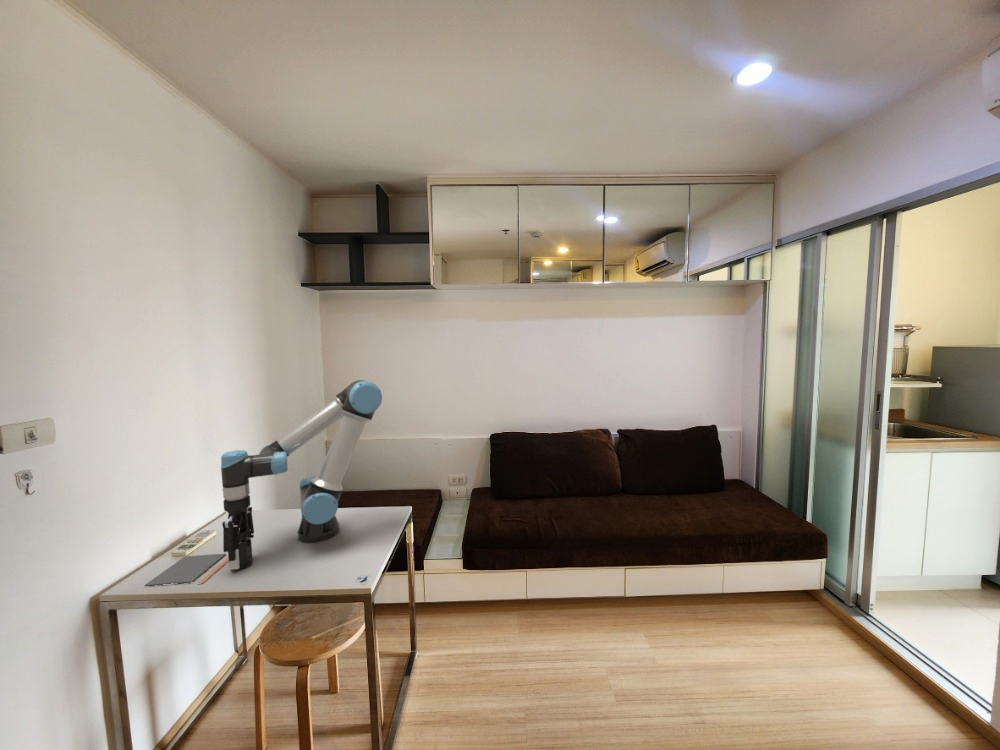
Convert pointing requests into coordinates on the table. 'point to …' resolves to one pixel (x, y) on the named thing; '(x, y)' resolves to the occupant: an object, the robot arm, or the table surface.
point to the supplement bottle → (244, 550)
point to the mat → (186, 569)
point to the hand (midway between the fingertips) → (240, 563)
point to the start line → (214, 570)
